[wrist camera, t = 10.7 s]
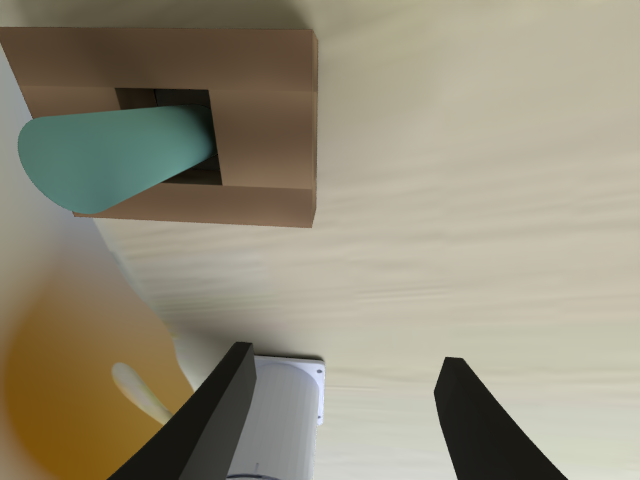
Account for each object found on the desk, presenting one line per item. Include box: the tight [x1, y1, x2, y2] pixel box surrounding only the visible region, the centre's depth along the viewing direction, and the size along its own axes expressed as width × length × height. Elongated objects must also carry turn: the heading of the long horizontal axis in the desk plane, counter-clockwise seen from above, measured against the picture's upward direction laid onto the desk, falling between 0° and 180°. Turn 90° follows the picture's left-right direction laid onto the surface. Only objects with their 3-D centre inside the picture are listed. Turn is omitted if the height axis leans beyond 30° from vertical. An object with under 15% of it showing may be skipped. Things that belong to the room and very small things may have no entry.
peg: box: [18, 104, 218, 214], centre depth 13 cm, size 3×3×9 cm
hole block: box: [0, 27, 318, 228], centre depth 15 cm, size 9×14×3 cm, turn 89°
